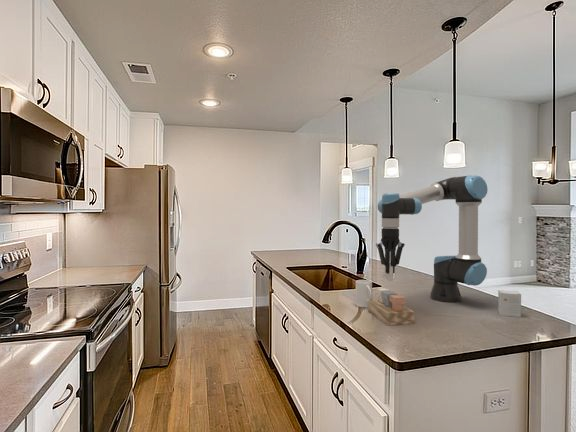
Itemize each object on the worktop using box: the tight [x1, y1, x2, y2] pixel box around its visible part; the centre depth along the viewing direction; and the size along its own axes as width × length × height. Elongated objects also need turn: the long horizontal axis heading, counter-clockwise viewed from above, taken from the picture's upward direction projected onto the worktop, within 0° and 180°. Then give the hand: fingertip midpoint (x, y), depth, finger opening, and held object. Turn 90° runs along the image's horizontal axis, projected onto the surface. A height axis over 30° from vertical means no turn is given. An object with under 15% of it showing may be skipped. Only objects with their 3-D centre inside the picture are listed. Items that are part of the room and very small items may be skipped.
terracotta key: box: [389, 294, 406, 312], centre depth 151 cm, size 5×5×7 cm
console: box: [367, 299, 415, 326], centre depth 158 cm, size 12×20×5 cm, turn 10°
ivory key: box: [376, 287, 392, 304], centre depth 164 cm, size 5×5×7 cm
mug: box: [354, 279, 373, 308], centre depth 176 cm, size 12×8×12 cm
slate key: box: [383, 290, 399, 308], centre depth 158 cm, size 5×5×7 cm
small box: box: [497, 289, 522, 318], centre depth 161 cm, size 8×6×10 cm
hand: (389, 280), depth 157 cm, fingers closed
